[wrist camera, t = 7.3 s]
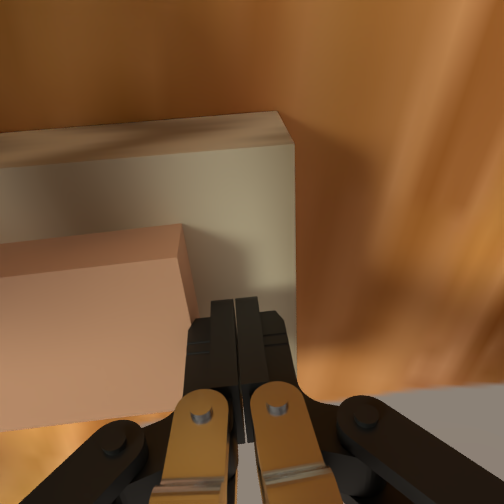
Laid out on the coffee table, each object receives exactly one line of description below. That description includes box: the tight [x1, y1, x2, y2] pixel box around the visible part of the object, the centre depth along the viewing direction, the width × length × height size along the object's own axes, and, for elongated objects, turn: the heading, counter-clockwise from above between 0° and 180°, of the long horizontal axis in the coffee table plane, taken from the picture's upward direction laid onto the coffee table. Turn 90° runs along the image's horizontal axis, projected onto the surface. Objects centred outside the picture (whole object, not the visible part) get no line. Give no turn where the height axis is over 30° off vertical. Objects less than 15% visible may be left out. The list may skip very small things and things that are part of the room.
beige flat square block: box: [0, 111, 297, 378], centre depth 16 cm, size 11×10×4 cm
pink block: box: [0, 223, 200, 432], centre depth 14 cm, size 9×6×2 cm, turn 95°
